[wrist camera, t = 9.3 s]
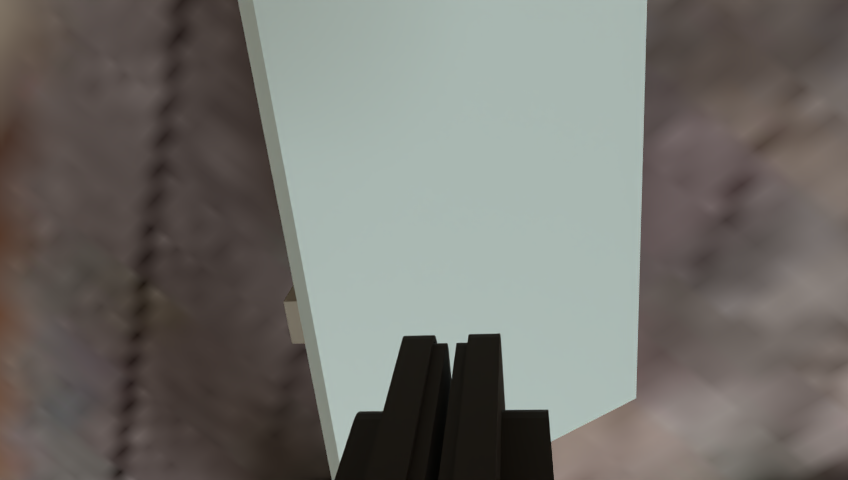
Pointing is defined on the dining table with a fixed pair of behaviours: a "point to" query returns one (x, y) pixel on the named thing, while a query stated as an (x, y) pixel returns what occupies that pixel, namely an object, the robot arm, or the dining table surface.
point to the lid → (458, 190)
